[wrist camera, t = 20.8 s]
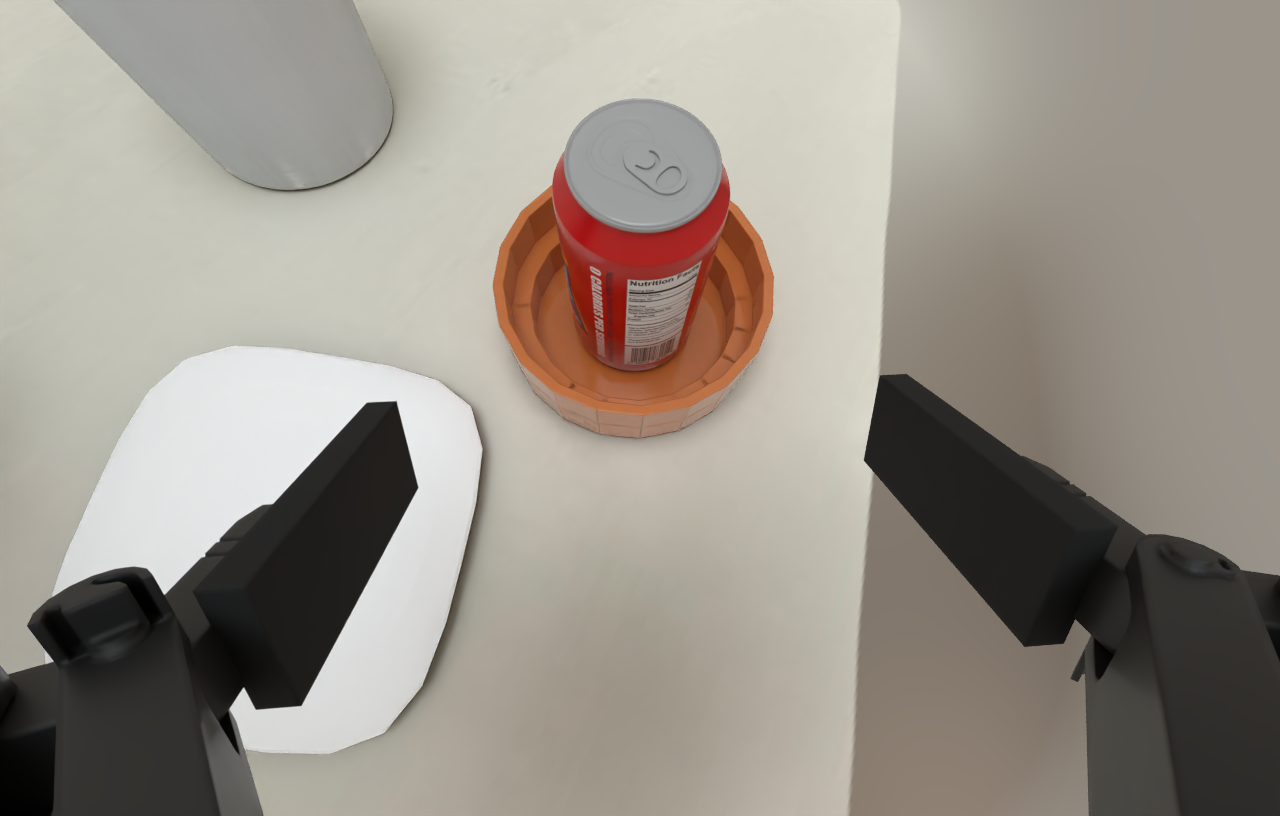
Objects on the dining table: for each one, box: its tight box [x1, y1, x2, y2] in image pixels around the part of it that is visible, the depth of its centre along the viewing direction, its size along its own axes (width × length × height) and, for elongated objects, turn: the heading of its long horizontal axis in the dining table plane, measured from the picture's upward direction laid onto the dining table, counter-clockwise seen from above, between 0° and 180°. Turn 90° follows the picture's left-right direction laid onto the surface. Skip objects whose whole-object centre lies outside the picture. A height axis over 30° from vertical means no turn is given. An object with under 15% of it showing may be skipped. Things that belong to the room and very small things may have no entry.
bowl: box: [493, 186, 774, 438], centre depth 33 cm, size 16×16×6 cm
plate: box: [45, 346, 483, 754], centre depth 31 cm, size 22×22×2 cm
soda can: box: [552, 99, 730, 371], centre depth 28 cm, size 8×8×15 cm
